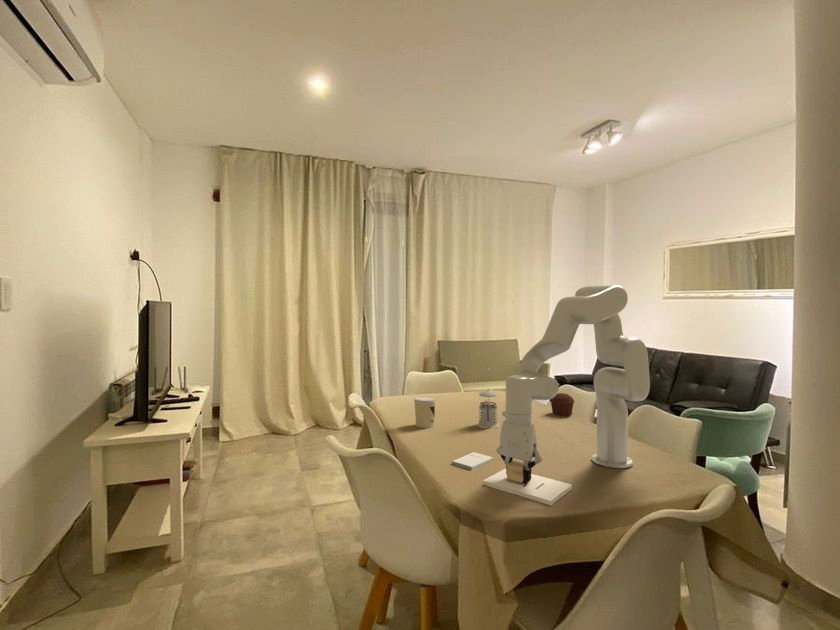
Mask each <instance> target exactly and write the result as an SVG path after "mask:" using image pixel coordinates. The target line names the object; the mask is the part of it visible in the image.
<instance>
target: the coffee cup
mask: <svg viewBox="0 0 840 630" xmlns="http://www.w3.org/2000/svg"><path fill="white" fill-rule="evenodd" d="M413 401H414V413H415V426H416V427H417V428H420V429H431V428H433V427H434V425H435V416H436V415H435V414H436V413H435V412H436V401H437V400H436V399H435V397H432V396H417V397H415V398H414V400H413Z"/></svg>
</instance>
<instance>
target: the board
mask: <svg viewBox="0 0 840 630" xmlns="http://www.w3.org/2000/svg"><path fill="white" fill-rule="evenodd" d="M482 485H483V486H486V487H489V488H493V489H496V490H499V491H502V492H506V493H508V494H512V495H515V494H516V495H515V496H518V495H519V497H522V498H526V499H529V500H532V501H535V502H538V503H541V504H545V505H549V506H552V505H554V504H556V503H557V502H558V500H560V499H561V498H563V497H564V496H565V495H566V494H568V493H569V492H570V491H572V490H573V484H571V483H566V482H563V481H561V480H560V481H559V480H556V479H552V478H548V477H544V476H541V475H537V474H533V473H531V480H530V481H529V482H528V483H526V484H524V483H523V484H522V485H519V484H515V483H512V482H508V481H507V474H506V467H505V468H504V469H502V470H499V471H498V472H496V473H494V474H493V475H490V476H488V477H487V478H485V479H483V481H482Z"/></svg>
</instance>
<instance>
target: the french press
mask: <svg viewBox="0 0 840 630" xmlns="http://www.w3.org/2000/svg"><path fill="white" fill-rule="evenodd" d="M485 372H487V373H489V372H491V369H490V368H486V369H485ZM478 395H479V396H480V397H484V398H492V397H493V398H494V397H497V396H498V393H496V392H495V391H492V390H489V389H486V390H483V391H481V392H480V393H478ZM479 404H480V405H479V406H478V409H479V410H478V412H479V413H478V423H477V424H476V426H477V427H479V428H481V429H482V428H483V429H497V428H499V427H500V424H499V423H498V407H497V403H496V402H494V401H491V400H488V401H481V402H480V403H479ZM496 427H497V428H496Z"/></svg>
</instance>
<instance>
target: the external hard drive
mask: <svg viewBox="0 0 840 630" xmlns="http://www.w3.org/2000/svg"><path fill="white" fill-rule="evenodd" d="M492 461H494V458H493V457H492V456H489V455H486V454H482V453H479V452H475V451H473V452H471V453H469V454H466V455H464V456H461V457H459V458H456V459H454V460H452V461H451V465H453V466H457V467H459V468H463V469H467V470H470V471H473V470H475V469H477V468H479V467H481V466H483V465H486V464H488V463H490V462H492Z"/></svg>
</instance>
